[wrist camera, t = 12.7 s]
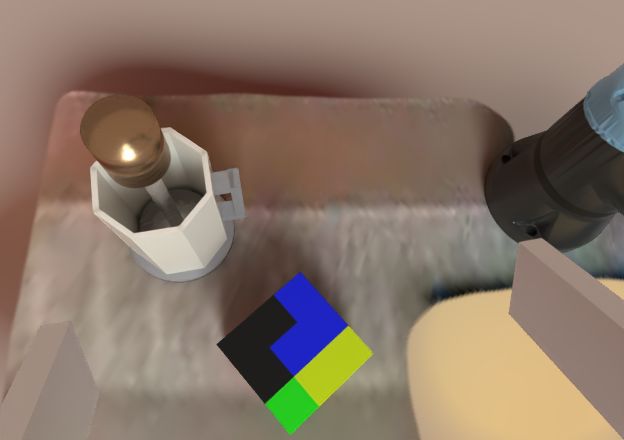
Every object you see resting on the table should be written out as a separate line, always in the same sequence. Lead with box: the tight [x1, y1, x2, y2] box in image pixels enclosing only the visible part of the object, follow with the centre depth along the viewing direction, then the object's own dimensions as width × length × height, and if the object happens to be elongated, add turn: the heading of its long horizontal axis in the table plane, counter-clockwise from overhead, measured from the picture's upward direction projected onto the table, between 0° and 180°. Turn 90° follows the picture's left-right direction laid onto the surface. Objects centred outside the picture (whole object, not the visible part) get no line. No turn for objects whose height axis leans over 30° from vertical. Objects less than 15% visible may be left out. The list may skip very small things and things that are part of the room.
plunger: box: [80, 95, 203, 232], centre depth 42 cm, size 8×8×22 cm
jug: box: [90, 127, 246, 282], centre depth 48 cm, size 14×12×15 cm
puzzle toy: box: [217, 272, 373, 435], centre depth 47 cm, size 10×10×10 cm
